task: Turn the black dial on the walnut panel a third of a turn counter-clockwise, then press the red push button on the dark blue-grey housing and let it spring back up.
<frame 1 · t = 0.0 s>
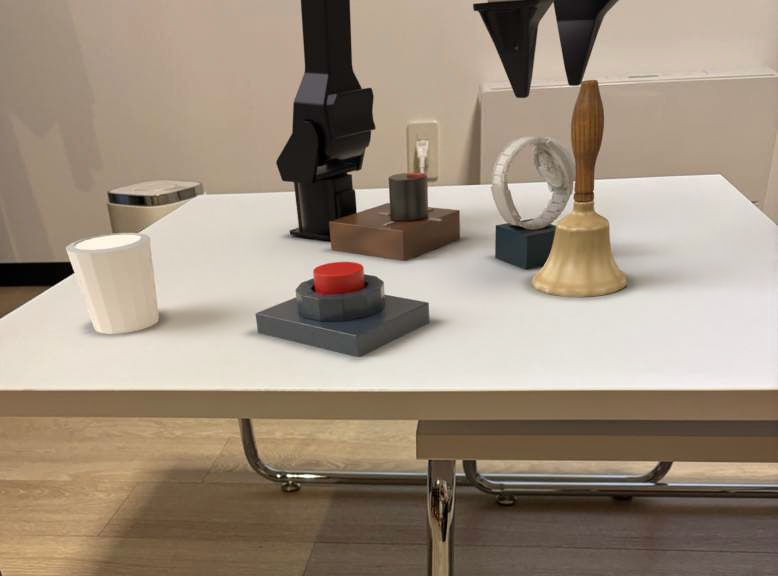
hand: (549, 91, 72), 15 cm above the table, tool pointing down, fingers open, 9 cm apart
white cup: (127, 325, 73), on the table
watch: (529, 261, 81), on the table
dial: (408, 195, 86), point 5 cm above the table, hinge at 0.0°
hand bell: (578, 285, 74), on the table
button box: (343, 328, 68), on the table
button: (339, 279, 66), point 4 cm above the table, slide at 0.1 cm
dial panel: (395, 244, 90), on the table
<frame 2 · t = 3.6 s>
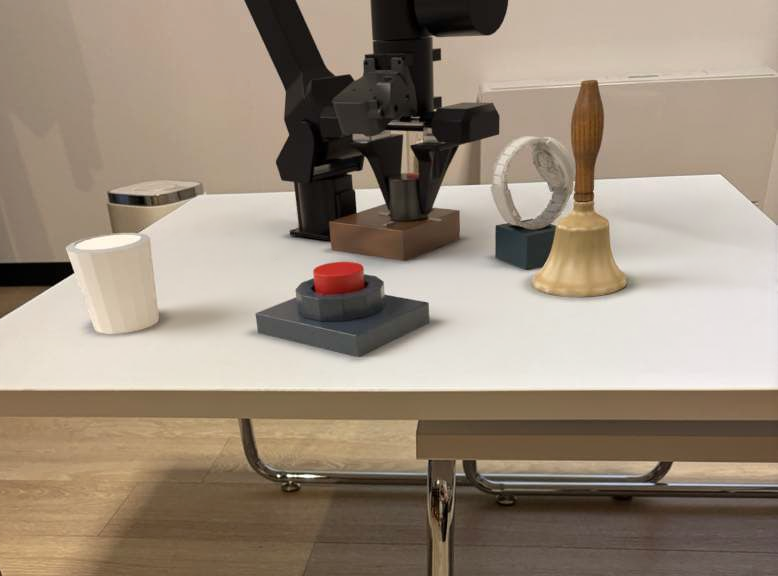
hand: (409, 212, 87), 4 cm above the table, tool pointing down, fingers closed on dial, 4 cm apart
dial: (408, 195, 86), point 5 cm above the table, hinge at 0.0°, touching gripper
everything else where it was.
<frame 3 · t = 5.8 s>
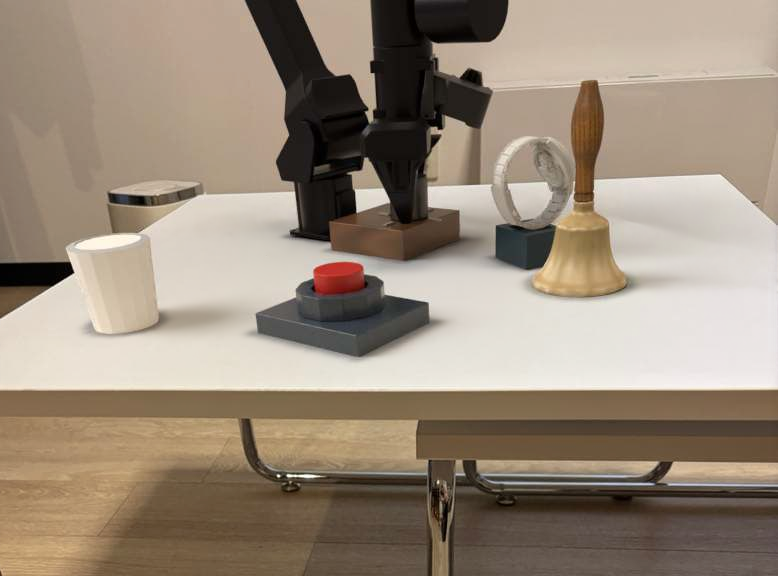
hand: (409, 216, 87), 3 cm above the table, tool pointing down, fingers open, 5 cm apart
dial: (408, 195, 86), point 5 cm above the table, hinge at 120.9°
everything else where it was.
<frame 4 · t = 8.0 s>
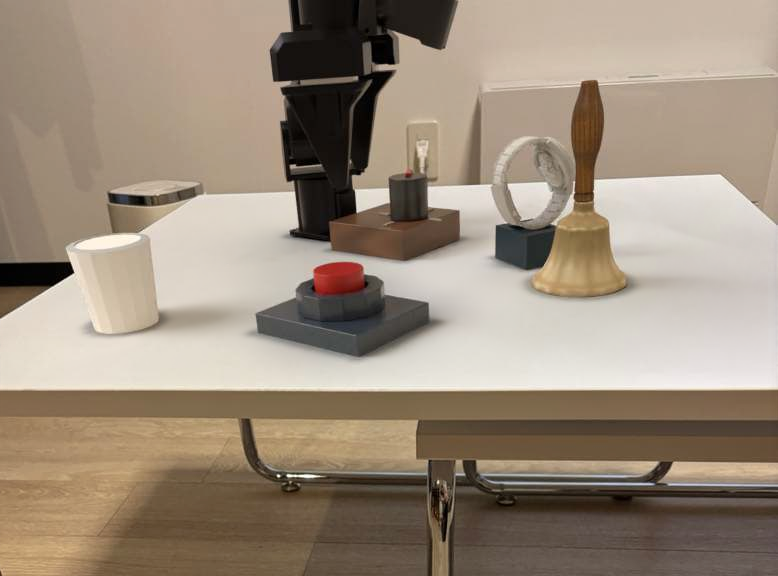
hand: (351, 177, 65), 11 cm above the table, tool pointing down, fingers open, 9 cm apart
nothing on the table moved.
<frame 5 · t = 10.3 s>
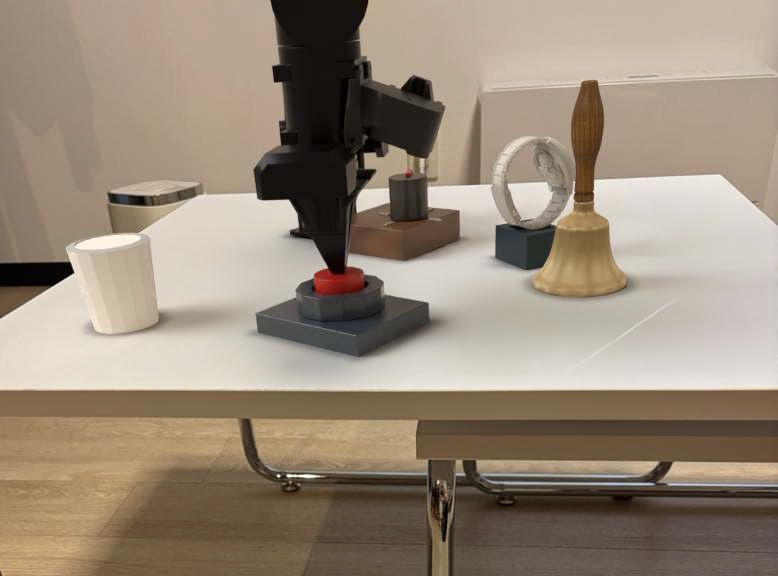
hand: (338, 272, 65), 4 cm above the table, tool pointing down, fingers closed, pressing on button
button: (339, 284, 66), point 4 cm above the table, slide at -0.3 cm, touching gripper
everything else where it was.
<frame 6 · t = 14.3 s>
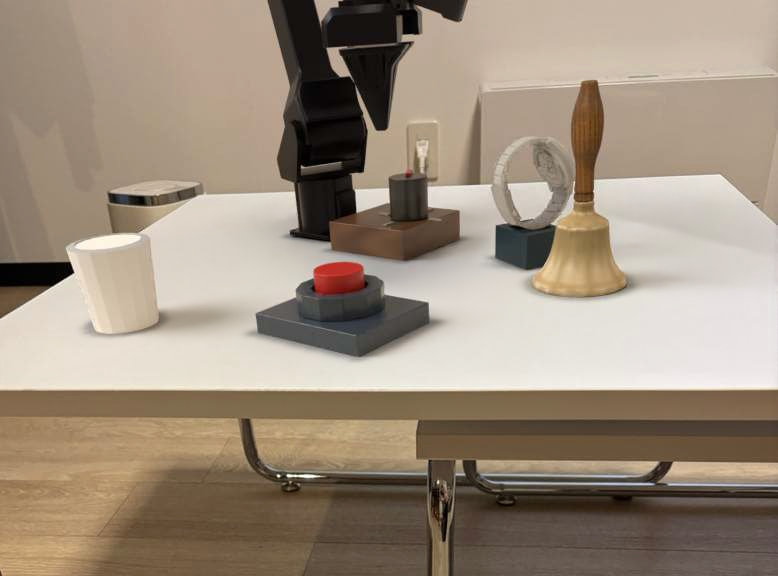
hand: (382, 130, 78), 12 cm above the table, tool pointing down, fingers closed
button: (339, 279, 66), point 4 cm above the table, slide at 0.1 cm
everything else where it was.
at the end: dial at +121° (first picture: +0°); button pushed in 1.1 cm at the most during the clip, back to where it started at the end; button slide at 0.1 cm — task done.
